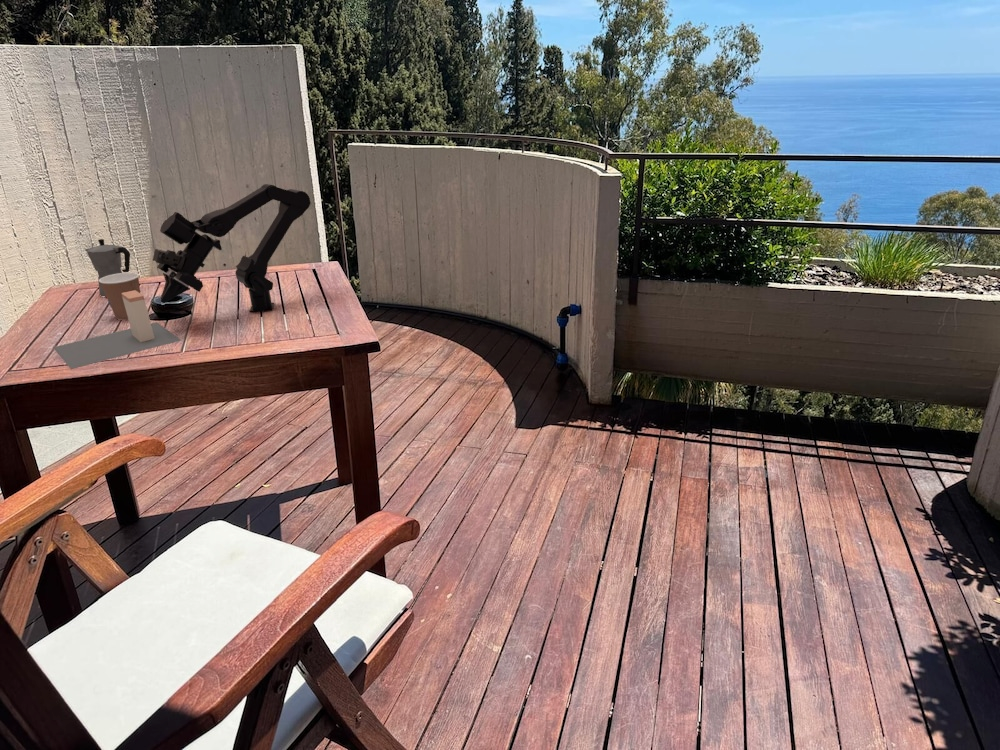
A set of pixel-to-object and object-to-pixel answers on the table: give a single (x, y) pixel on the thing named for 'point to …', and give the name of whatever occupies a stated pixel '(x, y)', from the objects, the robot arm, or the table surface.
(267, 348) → the table surface
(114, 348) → the mat
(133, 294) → the tan bar
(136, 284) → the coffee cup
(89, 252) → the coffeepot
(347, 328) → the table surface
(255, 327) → the table surface
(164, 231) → the robot arm
